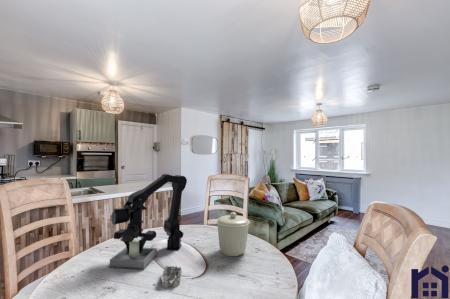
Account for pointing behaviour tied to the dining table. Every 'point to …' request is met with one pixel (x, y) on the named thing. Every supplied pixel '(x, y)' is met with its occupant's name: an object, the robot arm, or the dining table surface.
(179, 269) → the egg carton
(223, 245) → the canister
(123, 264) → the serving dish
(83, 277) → the dining table surface
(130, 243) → the pale green cylinder
